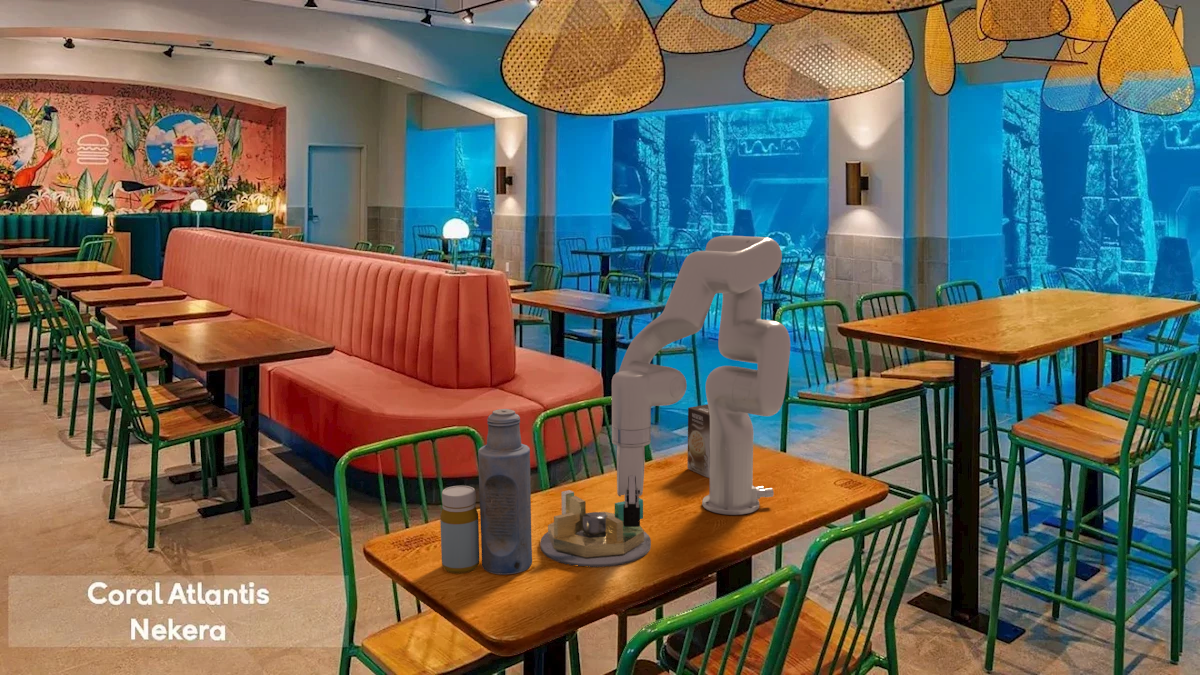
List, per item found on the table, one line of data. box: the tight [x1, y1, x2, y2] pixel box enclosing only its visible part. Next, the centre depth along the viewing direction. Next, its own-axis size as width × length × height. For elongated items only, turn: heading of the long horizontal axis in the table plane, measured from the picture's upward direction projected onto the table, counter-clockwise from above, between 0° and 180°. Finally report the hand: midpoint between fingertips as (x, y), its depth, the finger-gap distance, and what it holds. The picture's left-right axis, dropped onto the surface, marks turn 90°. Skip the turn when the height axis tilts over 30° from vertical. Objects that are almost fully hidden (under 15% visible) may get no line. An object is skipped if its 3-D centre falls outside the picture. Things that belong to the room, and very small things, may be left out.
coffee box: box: [686, 403, 710, 479], centre depth 235 cm, size 9×6×16 cm
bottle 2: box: [477, 408, 533, 575], centre depth 177 cm, size 10×10×30 cm
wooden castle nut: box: [547, 495, 645, 557], centre depth 188 cm, size 20×18×6 cm
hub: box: [540, 489, 652, 568], centre depth 188 cm, size 22×22×8 cm
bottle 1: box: [439, 485, 480, 574], centre depth 177 cm, size 7×7×15 cm
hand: (631, 525), depth 186 cm, fingers closed
